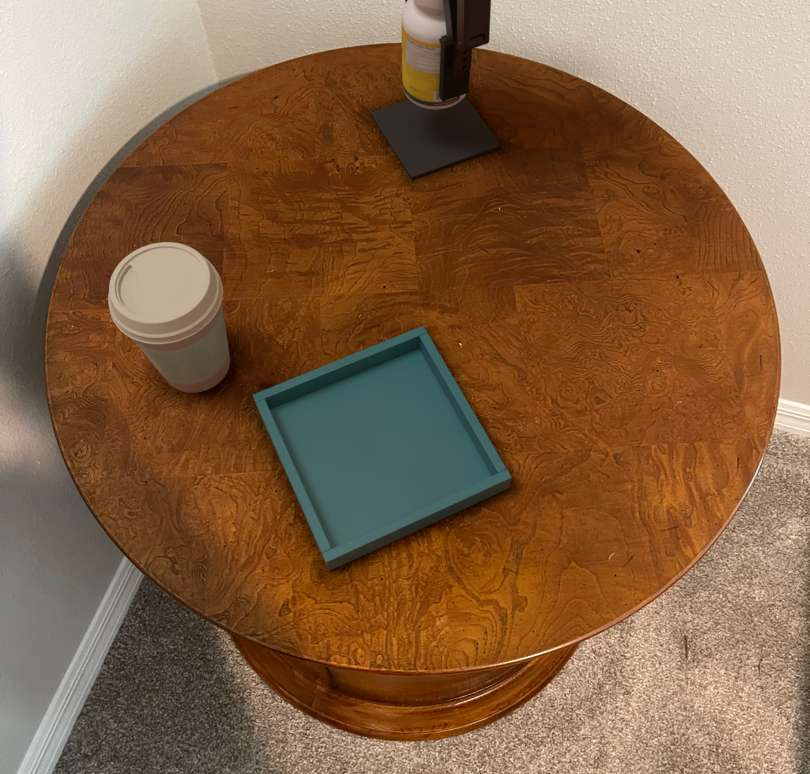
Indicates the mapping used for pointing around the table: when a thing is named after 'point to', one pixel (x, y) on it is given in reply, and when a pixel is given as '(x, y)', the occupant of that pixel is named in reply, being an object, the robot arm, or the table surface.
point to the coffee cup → (173, 313)
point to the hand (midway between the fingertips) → (436, 70)
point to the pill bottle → (423, 52)
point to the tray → (379, 446)
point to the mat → (434, 135)
